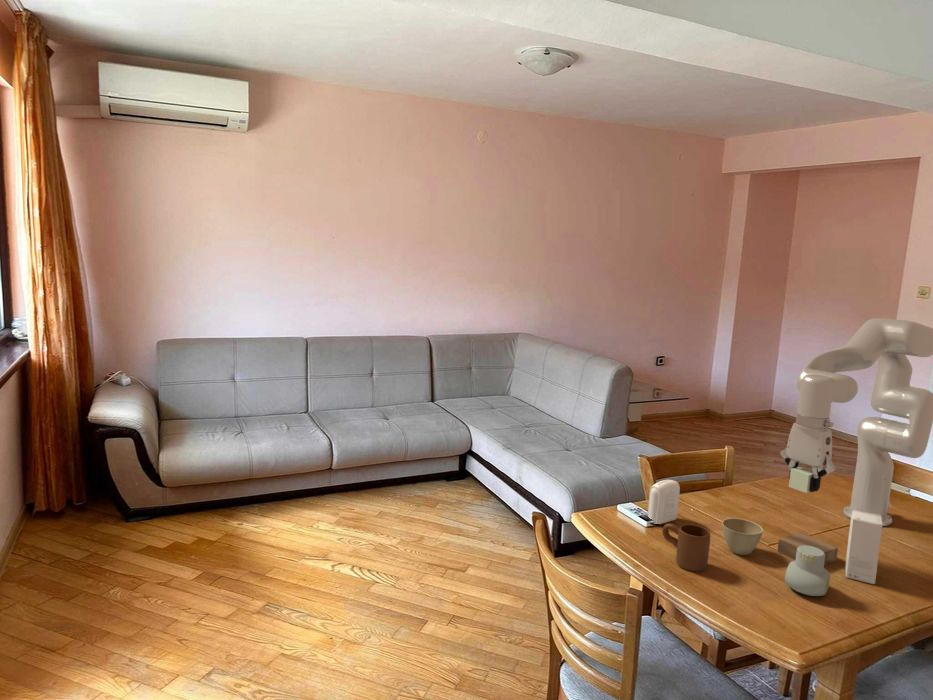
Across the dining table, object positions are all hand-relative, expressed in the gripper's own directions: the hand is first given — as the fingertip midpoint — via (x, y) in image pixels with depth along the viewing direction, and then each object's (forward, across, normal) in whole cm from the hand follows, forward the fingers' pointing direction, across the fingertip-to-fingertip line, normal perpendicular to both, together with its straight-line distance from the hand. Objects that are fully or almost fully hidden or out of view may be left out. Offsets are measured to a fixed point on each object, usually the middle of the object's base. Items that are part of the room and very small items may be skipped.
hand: (803, 486), depth 166 cm
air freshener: (+18, -14, +18) cm, 29 cm away
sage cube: (+1, 0, 0) cm, 1 cm away
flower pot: (+18, +6, +16) cm, 24 cm away
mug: (+18, +8, +35) cm, 40 cm away
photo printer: (+18, +29, +20) cm, 40 cm away
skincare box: (+18, -16, -2) cm, 24 cm away
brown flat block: (+18, -4, +2) cm, 19 cm away
